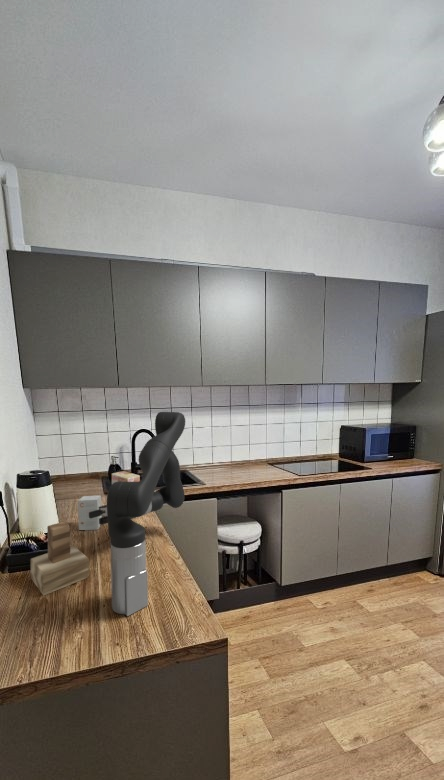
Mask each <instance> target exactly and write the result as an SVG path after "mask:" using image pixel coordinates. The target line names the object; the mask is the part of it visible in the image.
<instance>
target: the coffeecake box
mask: <svg viewBox="0 0 444 780" xmlns="http://www.w3.org/2000/svg"><path fill="white" fill-rule="evenodd" d="M140 477H141V476H140V475H139V474H135V473H132V472H129V471H125V470H123V471H122V470H121V471H117V472H113V473H111V485H112V484H113V483H115V482H119V481H124V482H139V481H141V478H140Z"/></svg>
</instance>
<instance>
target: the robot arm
mask: <svg viewBox="0 0 444 780" xmlns="http://www.w3.org/2000/svg"><path fill="white" fill-rule="evenodd" d="M185 426H186V417H185V415H184V414H183V413H182V412H178V411H160V412H159V411H158V413H157V414H156V416H155V419H154V428H155V429H154V430H155V436H153V437H151V438H150V439H148V440H147V442H146V443H145V444H144V446H143V447H142V449H141V450H140V451H139V455H138V465H139V467H140V470H141V472H142V475H143V476H142V478H141V479H140V481H139V482H124V481H119V482H115V483H113V484H112V483H111V485H110V487H109V489H108V491H107V495H106V504H105V505H101V506H100V507H99V510H95V511H91V512H89V518H90V519H91V518H95V517H98V516H102V517H101V518H99V524H100V525H101V526H103V525H105V524H106V525H108V526H107V528H108V535H109V539H110V581H111V582H110V585H111V586H110V587H111V588H110V591H111V609H112V611H113V612H114V613H117V614H118V615H125V616H126V617H129V616H131V615H132V614H134V613H136V612H138V611H140V610H143V609H144V608H146V607H147V606H149V595H148V593H149V591H148V587H149V585H148V570H147V566H146V565H147V564H146V563H147V560H146V557H147V553H146V552H147V551H146V549H147V548H146V529H145V527H144V526H143V525H142V524H139V523H138V522H135V521H134V519H133V518H135V519H137V518H136V517H138V518H141V517H143V516H145V515H147V514H151V513H153V512H157V511H159V510H160V509H162V508H163V506H164V504H166V505H168V506H170V508H173V509H178V508H180V507H181V506H182V505H183V504H184V501H185V498H186V497H185V490H184V486H183V483H182V481H181V470H180V469H181V467H180V462H179V458H178V457H177V455H176V454H175V452H174V451H173V449H174V447H175V446H176V443H177V442H178V441H179V439H180V438H181V436H182V434H183V432H184V430H185ZM161 475H162V481H163V484H164V485H165V486H163V487H161V488H159V489H157V490H156V488H157V485H158V482H159V480H160V478H161ZM140 516H141V517H140Z"/></svg>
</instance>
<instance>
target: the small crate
mask: <svg viewBox="0 0 444 780" xmlns="http://www.w3.org/2000/svg"><path fill="white" fill-rule="evenodd" d="M70 546H71V531H70V525H69V524H68V523H66V522H65V521H61V522H57V523H54V524H50V525H47V553H48V558H49V560H50V561H51V562H52V563H56V562H59V561H62V560H64V559H67V558H70Z"/></svg>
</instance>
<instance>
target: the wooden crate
mask: <svg viewBox="0 0 444 780" xmlns="http://www.w3.org/2000/svg"><path fill="white" fill-rule="evenodd" d="M90 562H91V561H90V559H89V557H87V555H85V554H84V553H83V552H82V551H81V550H79V549H78V548H77V547H76V546H74V545H73V544H70V558H67V559H64V560H62V561H59V562H56V563H52V562H51V561H50V560H49V558H48V552H47V553H44V554H40V555H37V556H35V557H31V558H30V579H31V581H32V582H33V583H34V585H35V586H36V587H37V589H38V590H39V592H40V593H41V594H42V596H47V595H49V594H51V593H54V592H55V591H58V590H60V589H63V588H65V587H68V586H71V585H73V584H75V583H79V582H80V581H82V580H85V579H87V578H89V575H90V574H91V570H90V568H89V566H90V565H91V563H90Z"/></svg>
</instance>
